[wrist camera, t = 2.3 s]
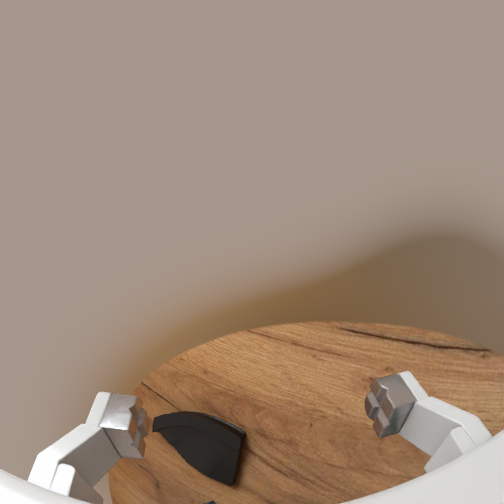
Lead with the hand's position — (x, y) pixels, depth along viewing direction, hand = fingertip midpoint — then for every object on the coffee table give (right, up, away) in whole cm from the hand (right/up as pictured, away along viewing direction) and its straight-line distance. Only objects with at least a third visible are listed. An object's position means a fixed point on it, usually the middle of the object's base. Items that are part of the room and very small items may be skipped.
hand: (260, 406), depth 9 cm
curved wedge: (-6, -17, +21) cm, 28 cm away
